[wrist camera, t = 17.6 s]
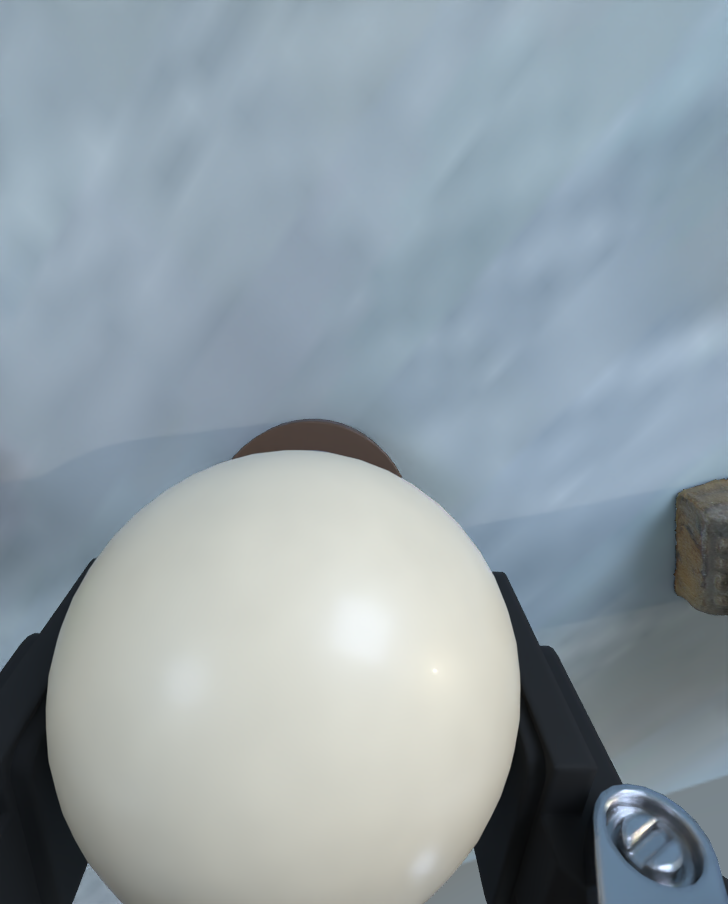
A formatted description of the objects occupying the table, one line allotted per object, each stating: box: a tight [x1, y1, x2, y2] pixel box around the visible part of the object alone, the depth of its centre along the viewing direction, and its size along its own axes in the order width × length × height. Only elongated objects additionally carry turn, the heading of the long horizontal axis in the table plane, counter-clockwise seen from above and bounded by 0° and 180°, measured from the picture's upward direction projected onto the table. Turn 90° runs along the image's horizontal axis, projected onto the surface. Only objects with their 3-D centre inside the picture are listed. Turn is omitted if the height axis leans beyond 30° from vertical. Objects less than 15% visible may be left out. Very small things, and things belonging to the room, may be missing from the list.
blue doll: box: [46, 419, 520, 904], centre depth 11 cm, size 13×6×6 cm
